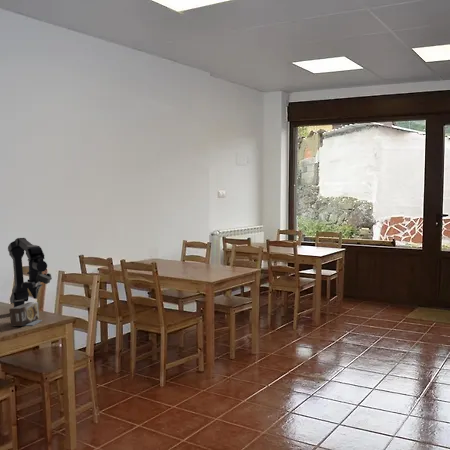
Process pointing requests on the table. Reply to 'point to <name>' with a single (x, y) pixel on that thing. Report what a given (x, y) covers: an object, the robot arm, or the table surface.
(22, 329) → the table surface
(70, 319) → the table surface
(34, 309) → the coffee box
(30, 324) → the mat
